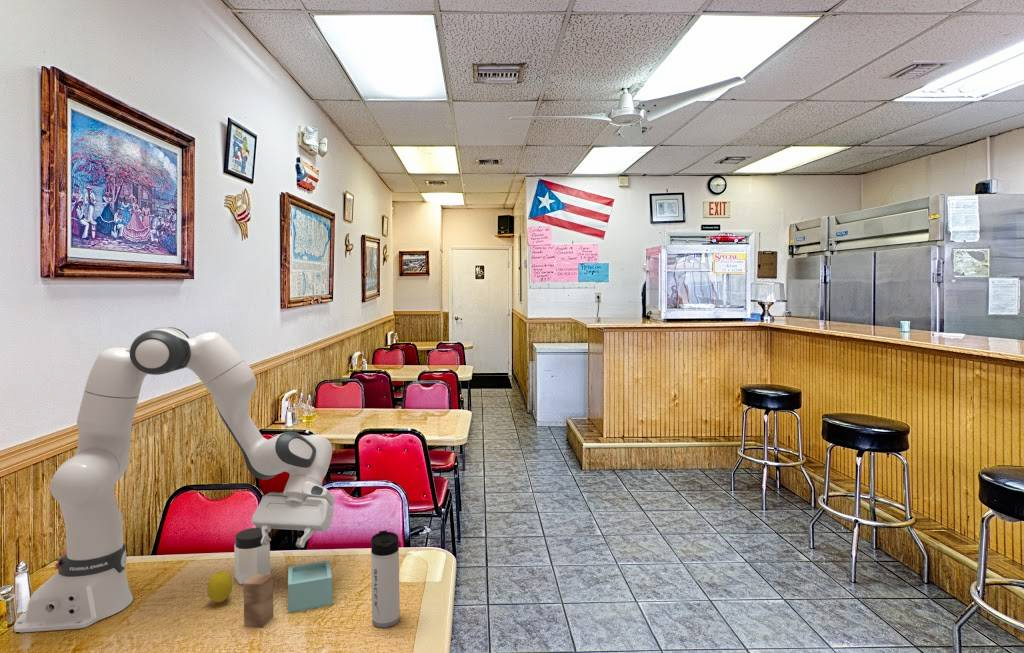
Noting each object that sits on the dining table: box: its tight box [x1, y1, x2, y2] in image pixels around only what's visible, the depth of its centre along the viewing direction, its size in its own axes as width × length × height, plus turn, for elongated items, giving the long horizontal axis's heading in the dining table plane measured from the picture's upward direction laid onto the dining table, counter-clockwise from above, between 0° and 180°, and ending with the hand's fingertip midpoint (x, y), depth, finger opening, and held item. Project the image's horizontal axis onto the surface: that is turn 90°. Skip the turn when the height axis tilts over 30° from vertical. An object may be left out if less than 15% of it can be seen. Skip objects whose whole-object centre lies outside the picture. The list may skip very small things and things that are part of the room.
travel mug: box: [370, 530, 401, 629], centre depth 132 cm, size 6×7×20 cm
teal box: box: [287, 560, 333, 614], centre depth 142 cm, size 10×10×7 cm
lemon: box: [206, 570, 233, 604], centre depth 140 cm, size 6×6×8 cm
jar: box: [233, 527, 271, 585], centre depth 153 cm, size 9×8×12 cm
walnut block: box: [242, 574, 275, 629], centre depth 132 cm, size 4×4×10 cm
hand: (281, 545), depth 142 cm, fingers open, 8 cm apart
